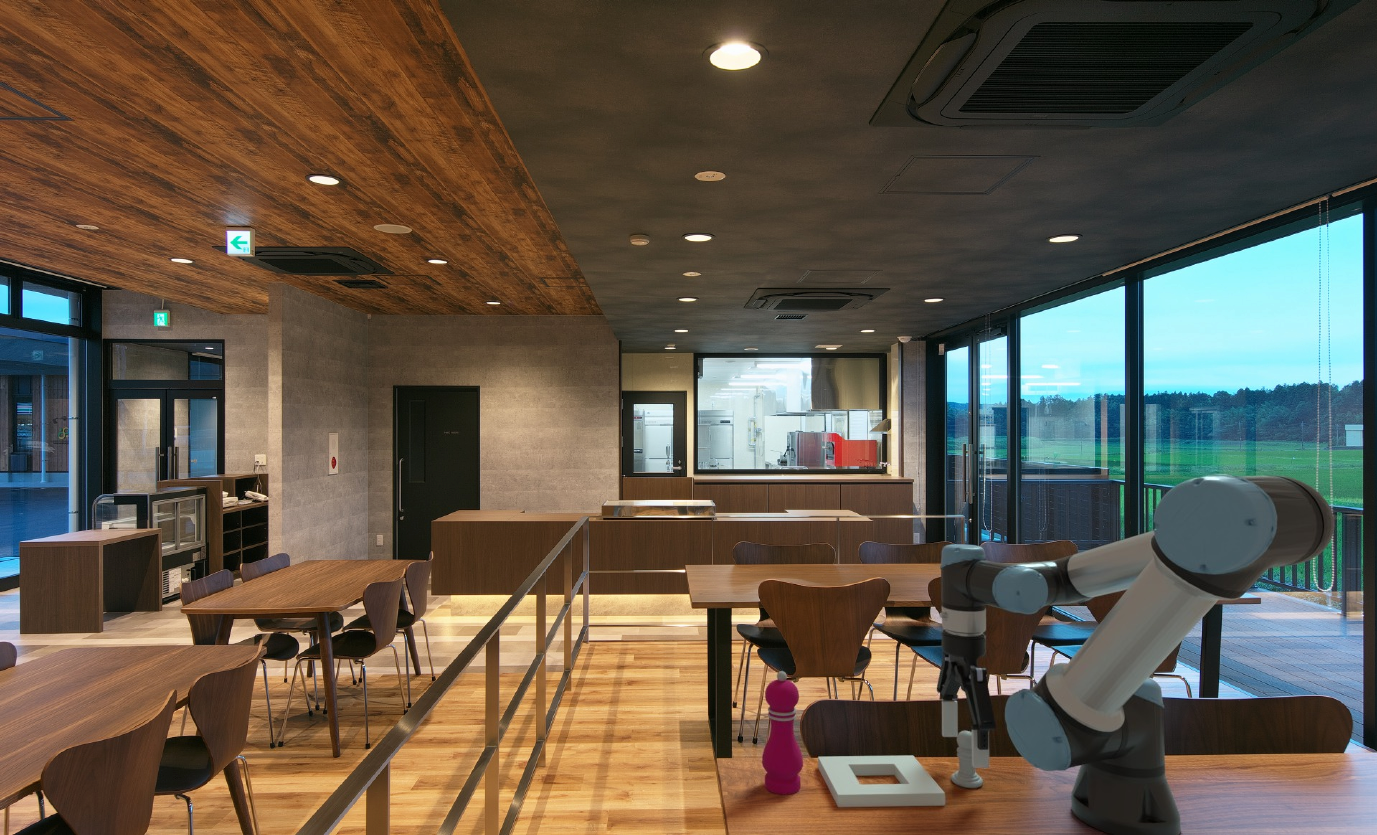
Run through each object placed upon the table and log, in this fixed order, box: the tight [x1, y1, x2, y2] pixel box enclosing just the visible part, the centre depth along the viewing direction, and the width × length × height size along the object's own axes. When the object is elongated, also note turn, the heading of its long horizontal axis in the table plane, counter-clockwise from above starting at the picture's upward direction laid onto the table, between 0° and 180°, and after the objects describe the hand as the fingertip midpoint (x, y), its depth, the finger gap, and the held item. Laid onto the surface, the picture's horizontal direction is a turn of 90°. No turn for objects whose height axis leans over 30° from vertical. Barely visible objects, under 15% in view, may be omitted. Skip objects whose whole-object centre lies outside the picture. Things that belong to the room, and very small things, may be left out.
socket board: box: [817, 755, 946, 808], centre depth 132 cm, size 18×16×2 cm
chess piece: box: [950, 730, 984, 789], centre depth 133 cm, size 5×5×9 cm
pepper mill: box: [761, 670, 804, 795], centre depth 132 cm, size 7×7×20 cm
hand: (964, 750), depth 133 cm, fingers open, 13 cm apart
